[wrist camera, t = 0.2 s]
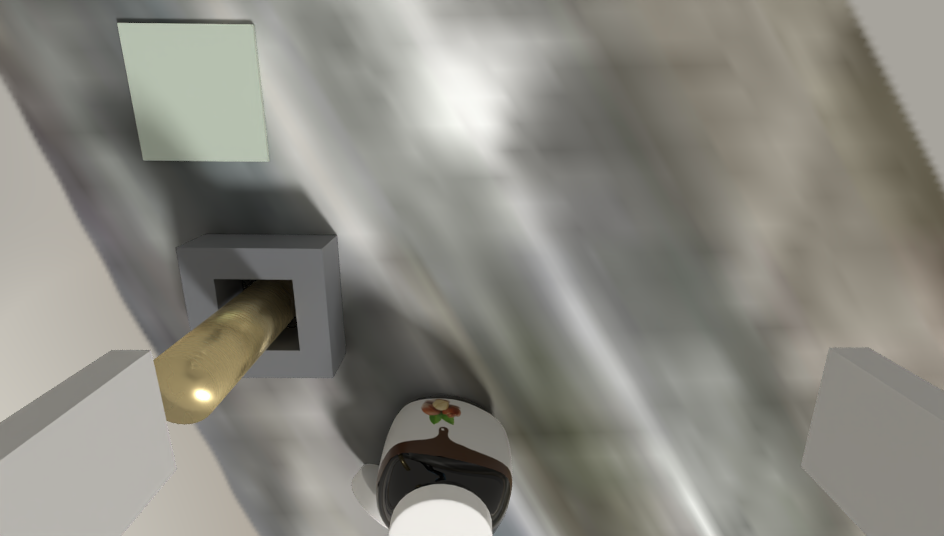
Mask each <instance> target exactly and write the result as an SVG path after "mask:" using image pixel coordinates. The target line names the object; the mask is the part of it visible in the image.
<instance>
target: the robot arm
mask: <svg viewBox="0 0 944 536" xmlns="http://www.w3.org/2000/svg"><path fill="white" fill-rule="evenodd" d="M801 467H802V468H803V469H804V470H805V471H806V472H807V473H808V474H809V475H810V476H811V477H812V478H813V480H814V481H815V482H816V483H817V484H818V485H819V486H820V487H821V488H822V489H823V490H824V491H825V492H826V493H827V494H828V495H829V496H830V497H831V498H832V500H833V501H834V502H835V503H836V504H837V505H838V506H839V507H840V508H841V509H842V510H843V511H844V512H845V513H846V514H847V515H848V516H849V517H850V519H851V520H852V521H853V522H854V523H855V524H856V525H857V526H858V527H859V528H860V529H861V530H862V531H863V532H864V533H865V534H866V535H867V536H944V391H943V390H941V389H939V388H938V387H936V386H934V385H932V384H931V383H929V382H927V381H925V380H924V379H922V378H920V377H919V376H917V375H915V374H913V373H912V372H910V371H908V370H906V369H905V368H903V367H901V366H900V365H898V364H896V363H894V362H893V361H891V360H889V359H887V358H886V357H884V356H882V355H881V354H879V353H877V352H875V351H874V350H872V349H870V348H829V350H828V355H827V359H826V363H825V367H824V371H823V376H822V380H821V384H820V388H819V392H818V397H817V401H816V405H815V409H814V413H813V418H812V422H811V426H810V430H809V434H808V438H807V443H806V447H805V451H804V455H803V459H802V464H801ZM176 469H177V467H176V463H175V458H174V453H173V448H172V444H171V440H170V435H169V430H168V425H167V421H166V416H165V412H164V407H163V403H162V398H161V393H160V389H159V384H158V380H157V375H156V370H155V366H154V361H153V357H152V352H151V350H111V351H110V352H108V353H106V354H105V355H103V356H102V357H100V358H99V359H97V360H96V361H94V362H92V363H91V364H89V365H88V366H86V367H85V368H83V369H82V370H80V371H79V372H77V373H76V374H74V375H72V376H71V377H69V378H68V379H66V380H65V381H63V382H62V383H60V384H59V385H57V386H56V387H54V388H52V389H51V390H49V391H48V392H46V393H45V394H43V395H42V396H40V397H39V398H37V399H36V400H34V401H33V402H31V403H29V404H28V405H26V406H25V407H23V408H22V409H20V410H19V411H17V412H16V413H14V414H13V415H11V416H9V417H8V418H7V419H5V420H3V421H2V422H0V536H122V535H123V533H124V532H125V531H126V530H127V528H128V527H129V526H130V525H131V524H132V523H133V521H134V520H135V519H136V517H137V516H138V515H139V514H140V513H141V512H142V510H143V509H144V508H145V507H146V506H147V504H148V503H149V502H150V501H151V500H152V498H153V497H154V496H155V495H156V493H157V492H158V491H159V490H160V489H161V487H162V486H163V485H164V484H165V483H166V482H167V480H168V479H169V478H170V477H171V476H172V474H173V473H174V472H175V471H176Z"/></svg>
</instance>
